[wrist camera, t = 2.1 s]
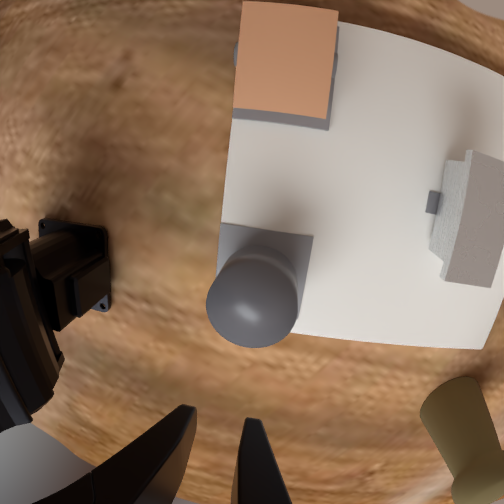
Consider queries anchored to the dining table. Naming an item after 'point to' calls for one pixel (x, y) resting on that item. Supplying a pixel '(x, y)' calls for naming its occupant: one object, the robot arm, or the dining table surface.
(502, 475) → the olive pawn
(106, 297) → the robot arm
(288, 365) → the dining table surface
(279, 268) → the button
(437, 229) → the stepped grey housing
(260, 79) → the peach slab
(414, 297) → the panel
